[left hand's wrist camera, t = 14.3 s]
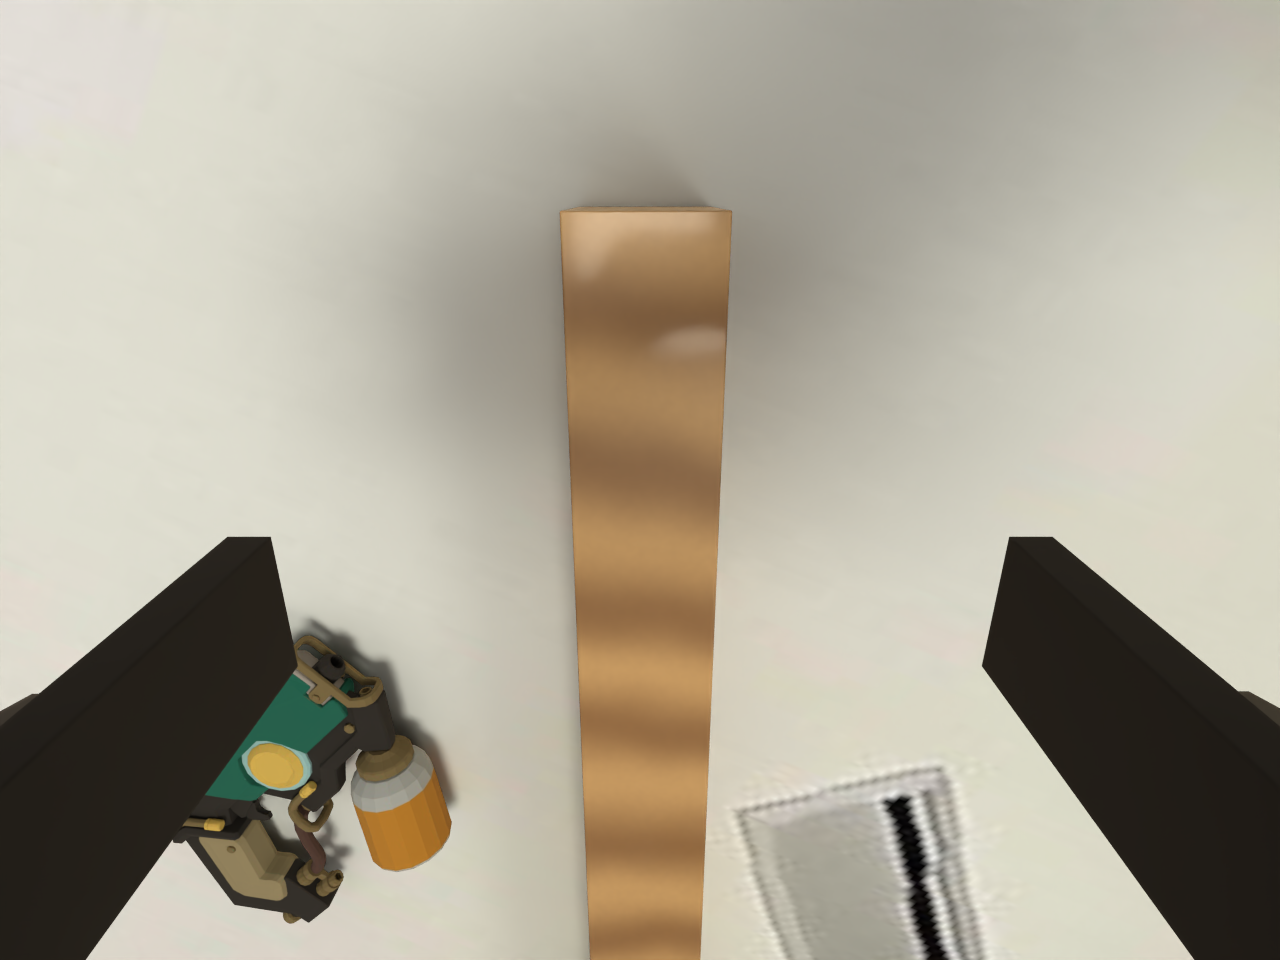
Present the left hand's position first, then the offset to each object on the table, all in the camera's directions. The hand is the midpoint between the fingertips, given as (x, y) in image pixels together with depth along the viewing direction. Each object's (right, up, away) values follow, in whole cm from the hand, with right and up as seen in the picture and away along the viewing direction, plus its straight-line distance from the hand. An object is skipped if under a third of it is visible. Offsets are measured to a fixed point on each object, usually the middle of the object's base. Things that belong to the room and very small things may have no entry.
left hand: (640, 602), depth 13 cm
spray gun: (-18, -14, +27) cm, 35 cm away
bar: (0, -22, +30) cm, 37 cm away
